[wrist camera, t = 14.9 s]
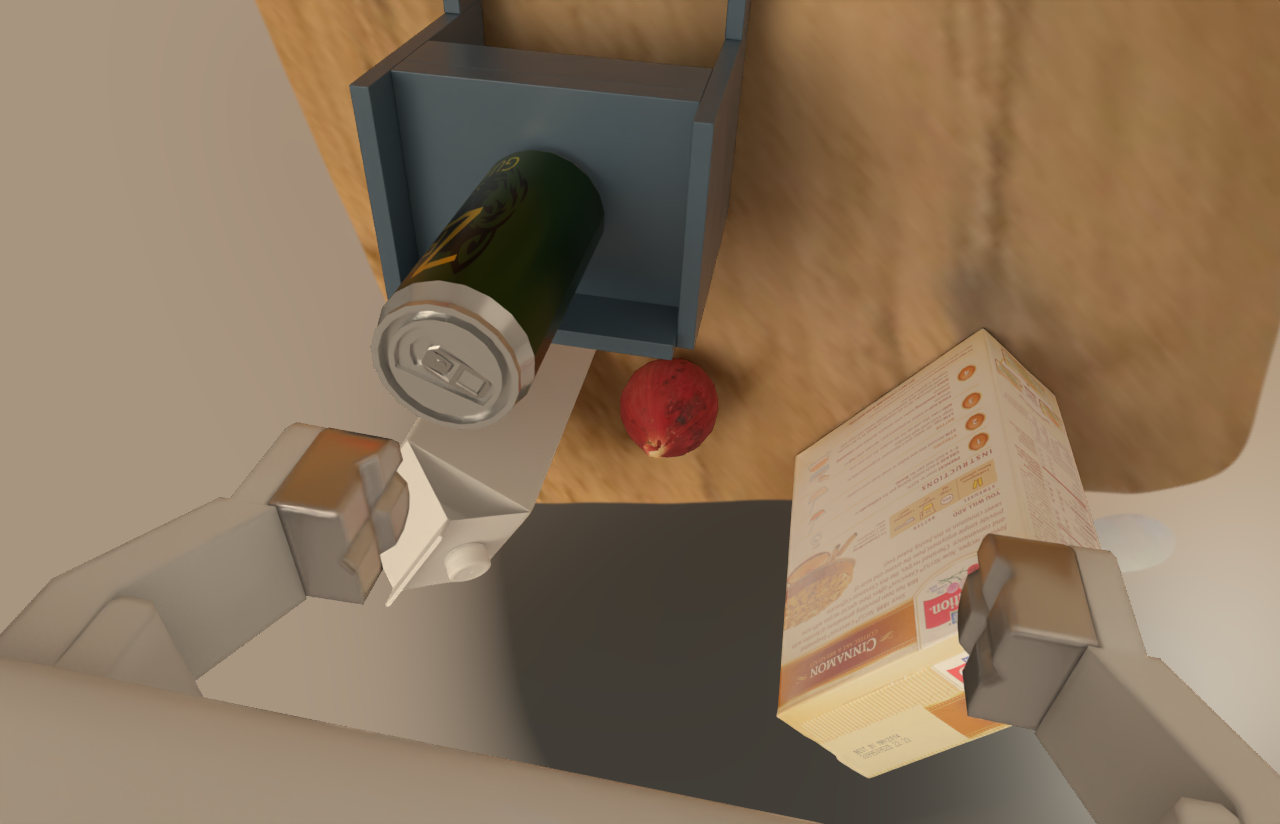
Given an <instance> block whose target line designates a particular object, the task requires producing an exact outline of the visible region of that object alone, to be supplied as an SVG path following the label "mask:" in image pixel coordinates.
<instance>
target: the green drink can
mask: <svg viewBox="0 0 1280 824" xmlns="http://www.w3.org/2000/svg"><path fill="white" fill-rule="evenodd" d="M604 217H605V213H604V209H603V205H602V202H601V198H600V194H599V192H598V190H597V188H596V187H595V185H594V183H593V182H592V180H591V179H590V177H589V175H588V174H587V173H586V172H585V171H584V170H583V169H582V168H581V167H580V166H578V165H577V164H576V163H575V162H574V161H572V160H570V159H568V158H566V157H564V156H562V155H560V154H558V153H555V152H549V151H543V150H527V151H521V152H514V153H512V154H510V155H508V156H506V157H505V158H503V159H501V160H499V161H497V162H496V164H495V165H494V166H493V167H492V169H491V170H490V171H489V172H488V173H487V175H486V176H485V177H484V178H483V180H482V181H481V182H480V184H479V185H478V186H477V187H476V189H475V190H474V191H473V192H472V194H471V195H470V196H469V198H468V199H467V200H466V201H465V203H464V204H463V205H462V207H461V208H460V209H459V210H458V212H457V213H456V214H455V216H454V217H453V218H452V219H451V221H450V222H449V223H448V224H447V226H446V227H445V228H444V230H443V231H442V232H441V233H440V235H439V236H438V237H437V239H436V240H435V241H434V242H433V244H432V245H431V246H430V247H429V249H428V250H427V251H426V253H425V254H424V255H423V256H422V258H421V259H420V260H419V262H418V263H417V264H416V265H415V267H414V268H413V269H412V271H411V272H410V273H409V274H408V276H407V277H406V278H405V279H404V281H403V282H402V283H401V285H400V286H399V287H398V288H397V290H396V291H395V292H394V294H393V295H392V296H391V297H390V299H389V300H388V301H387V302H386V304H385V305H384V306H383V308H382V310H381V314H380V318H379V322H378V326H377V328H376V329H375V332H374V336H373V340H372V344H371V352H372V359H373V366H374V368H375V370H376V372H377V374H378V376H379V378H380V380H381V382H382V384H383V386H384V387H385V388H386V389H387V390H388V391H389V393H390V394H391V395H392V396H393V397H394V398H395V399H396V401H397V402H398V403H400V404H401V405H403V406H404V407H405V408H407V409H408V410H409V411H411V412H412V413H414V414H415V415H416V416H418V417H420V418H423V419H425V420H427V421H430V422H432V423H434V424H436V425H439V426H444V427H449V428H454V429H460V430H462V429H480V428H483V427H486V426H489V425H491V424H494V423H497V422H499V421H500V420H501V419H502V418H503V417H504V416H505V415H507V414H508V413H509V412H510V411H511V410H512V408H513V407H514V406H515V405H516V404H517V403H518V402H519V401H520V400H521V399H522V398H524V397H525V396H526V395H527V393H528V391H529V389H530V387H531V385H532V382H533V380H534V378H535V376H536V374H537V372H538V370H539V368H540V366H541V363H542V361H543V359H544V357H545V355H546V353H547V351H548V349H549V347H550V345H551V342H552V340H553V338H554V336H555V334H556V332H557V330H558V328H559V326H560V323H561V321H562V319H563V317H564V315H565V313H566V311H567V309H568V307H569V304H570V302H571V300H572V298H573V296H574V294H575V292H576V290H577V288H578V285H579V283H580V281H581V279H582V277H583V275H584V273H585V271H586V269H587V267H588V264H589V262H590V260H591V258H592V256H593V254H594V252H595V250H596V248H597V245H598V243H599V241H600V239H601V236H602V234H603V232H604Z"/></svg>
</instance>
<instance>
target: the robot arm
mask: <svg viewBox="0 0 1280 824" xmlns="http://www.w3.org/2000/svg"><path fill="white" fill-rule="evenodd" d="M402 461H403V458H402V454H401V450H400V445H399V443H398V442H396V441H394V440H392V439H388V438H382V437H377V436H372V435H366V434H361V433H355V432H350V431H345V430H339V429H334V428H324V427H319V426H313V425H308V424H302V423H294V424H293V425H290V426H288V427H287V428H286V429H285V430H284V432H282V434H281V435H280V436H279V437H278V439H277V440H276V441H275V442H274V444H273V445H272V446H271V448H270V449H269V450H268V451H267V453H266V454H265V455H264V456H263V458H262V459H261V460H260V461H259V463H258V464H257V465H256V466H255V468H254V469H253V470H252V471H251V473H250V474H249V475H248V476H247V478H246V479H245V480H244V481H243V483H242V484H241V485H240V486H239V488H238V489H237V490H236V491H235V493H234V494H233V495H232V496H231V498H223V497H219V498H217V499H215V500H213V501H211V502H209V503H207V504H205V505H203V506H201V507H199V508H197V509H195V510H193V511H190V512H188V513H186V514H184V515H182V516H180V517H178V518H176V519H174V520H172V521H170V522H168V523H166V524H164V525H162V526H160V527H158V528H155V529H153V530H151V531H149V532H147V533H145V534H143V535H141V536H139V537H137V538H135V539H133V540H131V541H129V542H127V543H125V544H123V545H120V546H119V547H116V548H114V549H112V550H110V551H108V552H106V553H104V554H102V555H100V556H98V557H96V558H94V559H92V560H90V561H88V562H85V563H84V564H81V565H79V566H78V567H75V568H73V569H71V570H69V571H67V572H65V573H63V574H61V575H59V576H57V577H55V578H53V579H51V580H50V582H49V583H48V584H47V585H46V586H45V587H44V588H43V589H42V590H41V591H40V592H39V593H38V594H37V596H36V597H35V598H34V599H33V600H32V601H31V602H30V603H29V604H28V605H27V606H26V607H25V608H24V610H23V611H22V612H21V613H20V614H19V615H18V616H17V617H16V618H15V619H14V620H13V621H12V622H11V624H10V625H9V626H8V627H7V628H6V629H5V630H4V631H3V632H2V633H1V634H0V824H822V823H817V822H812V821H807V820H802V819H798V818H793V817H788V816H782V815H778V814H772V813H768V812H763V811H758V810H753V809H748V808H743V807H738V806H734V805H728V804H723V803H718V802H713V801H709V800H704V799H699V798H694V797H689V796H684V795H679V794H674V793H669V792H665V791H660V790H655V789H649V788H645V787H639V786H635V785H630V784H625V783H620V782H616V781H611V780H606V779H600V778H596V777H591V776H586V775H581V774H576V773H571V772H566V771H562V770H557V769H552V768H547V767H542V766H537V765H532V764H527V763H522V762H518V761H513V760H508V759H503V758H498V757H493V756H488V755H483V754H478V753H474V752H468V751H463V750H459V749H454V748H449V747H444V746H439V745H434V744H429V743H424V742H420V741H414V740H410V739H405V738H400V737H395V736H390V735H385V734H380V733H376V732H371V731H366V730H361V729H356V728H350V727H346V726H341V725H336V724H331V723H326V722H322V721H317V720H312V719H307V718H302V717H297V716H292V715H287V714H282V713H277V712H273V711H268V710H263V709H258V708H253V707H248V706H243V705H238V704H233V703H228V702H224V701H219V700H214V699H208V698H204V697H203V695H202V693H201V692H200V690H199V688H198V686H197V684H196V682H195V680H197V679H198V678H199V677H201V676H202V675H204V674H205V673H206V672H208V671H209V670H210V669H212V668H213V667H214V666H216V665H217V664H218V663H220V662H221V661H223V660H224V659H225V658H227V657H228V656H229V655H231V654H232V653H233V652H235V651H236V650H238V649H239V648H240V647H242V646H243V645H244V644H246V643H247V642H249V641H250V640H251V639H253V638H254V637H255V636H257V635H258V634H260V633H261V632H262V631H264V630H265V629H266V628H268V627H269V626H270V625H272V624H273V623H274V622H276V621H277V620H279V619H280V618H281V617H283V616H284V615H285V614H287V613H288V612H290V611H291V610H292V609H293V608H295V607H296V606H298V605H299V604H300V603H302V602H303V601H304V600H306V596H312V597H319V598H325V599H331V600H337V601H344V602H350V603H356V604H364V602H365V600H366V599H367V597H368V595H369V593H370V591H371V590H372V588H373V586H374V584H375V582H376V581H377V578H378V577H379V575H380V573H381V572H382V570H383V566H382V561H381V557H380V554H382V553H383V552H385V551H387V550H388V549H390V548H392V547H393V546H395V545H396V544H397V542H398V540H399V538H400V536H401V534H402V533H403V531H404V528H405V524H406V521H407V517H408V513H409V501H410V494H409V489H408V483H407V482H406V481H405V480H404V478H403V477H402V476H401V475H400V474H399V473H398V472H397V469H398V468H399V466H400V464H401V463H402ZM977 556H978V564H979V569H977V570H975V571H974V572H972V573H970V574H968V575H967V577H966V580H965V583H964V585H963V588H962V591H961V595H960V601H959V607H958V626H957V627H958V637H959V644H960V645H961V646H962V647H963V648H964V650H965V651H966V652H967V653H968V654H969V658H968V660H967V663H966V665H965V667H964V669H963V671H962V674H963V682H964V690H965V699H966V707H967V715H968V716H969V717H974V718H979V719H983V720H988V721H993V722H998V723H1002V724H1007V725H1012V726H1017V727H1021V728H1026V729H1031V730H1036V732H1035V735H1036V736H1037V738H1038V739H1039V741H1040V742H1041V744H1042V745H1043V746H1044V748H1045V749H1046V751H1047V752H1048V754H1049V755H1050V757H1051V758H1052V759H1053V761H1054V762H1055V764H1056V765H1057V767H1058V768H1059V770H1060V771H1061V773H1062V774H1063V775H1064V777H1065V778H1066V780H1067V781H1068V783H1069V784H1070V786H1071V787H1072V789H1073V790H1074V791H1075V793H1076V794H1077V796H1078V797H1079V799H1080V800H1081V802H1082V803H1083V805H1084V806H1085V807H1086V809H1087V810H1088V812H1089V813H1090V815H1091V816H1092V818H1093V819H1094V820H1095V822H1096V823H1097V824H1280V775H1279V774H1278V773H1277V772H1276V771H1275V770H1274V769H1273V768H1272V767H1271V766H1270V765H1268V764H1267V762H1265V761H1264V760H1263V759H1262V758H1261V757H1260V756H1259V755H1258V754H1257V753H1256V752H1255V751H1254V750H1253V749H1252V748H1251V747H1250V746H1249V745H1248V744H1247V743H1246V742H1245V741H1244V740H1243V739H1242V738H1241V737H1240V736H1239V735H1238V734H1237V733H1236V732H1235V731H1234V730H1232V728H1231V727H1230V726H1229V725H1227V723H1225V722H1224V721H1223V720H1222V719H1221V718H1220V717H1219V716H1218V715H1217V714H1216V713H1215V712H1214V711H1213V710H1212V709H1211V708H1210V707H1209V706H1208V705H1207V704H1206V703H1205V702H1204V701H1203V700H1202V699H1201V698H1200V697H1199V696H1198V695H1197V694H1196V693H1195V692H1194V691H1193V690H1192V689H1191V688H1190V687H1189V686H1187V685H1186V684H1185V683H1184V682H1183V681H1182V680H1181V679H1180V678H1179V677H1178V676H1177V675H1176V674H1175V673H1174V672H1173V671H1172V670H1171V669H1170V668H1169V667H1168V666H1167V665H1166V664H1165V663H1164V662H1163V661H1162V660H1161V659H1160V658H1155V657H1149V656H1147V653H1146V650H1145V647H1144V644H1143V641H1142V638H1141V634H1140V631H1139V628H1138V625H1137V622H1136V619H1135V616H1134V613H1133V609H1132V606H1131V603H1130V600H1129V597H1128V594H1127V590H1126V587H1125V585H1124V581H1123V578H1122V575H1121V572H1120V568H1119V565H1118V562H1117V559H1116V557H1115V556H1114V555H1113V554H1112V553H1111V552H1110V551H1106V550H1100V549H1093V548H1086V547H1079V546H1072V545H1068V546H1066V545H1064V544H1058V543H1051V542H1045V541H1038V540H1031V539H1025V538H1018V537H1011V536H1004V535H998V534H991V533H988V534H987V535H986V536H985V538H984V539H983V540H982V542H981V545H980V547H979V549H978V551H977Z"/></svg>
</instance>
